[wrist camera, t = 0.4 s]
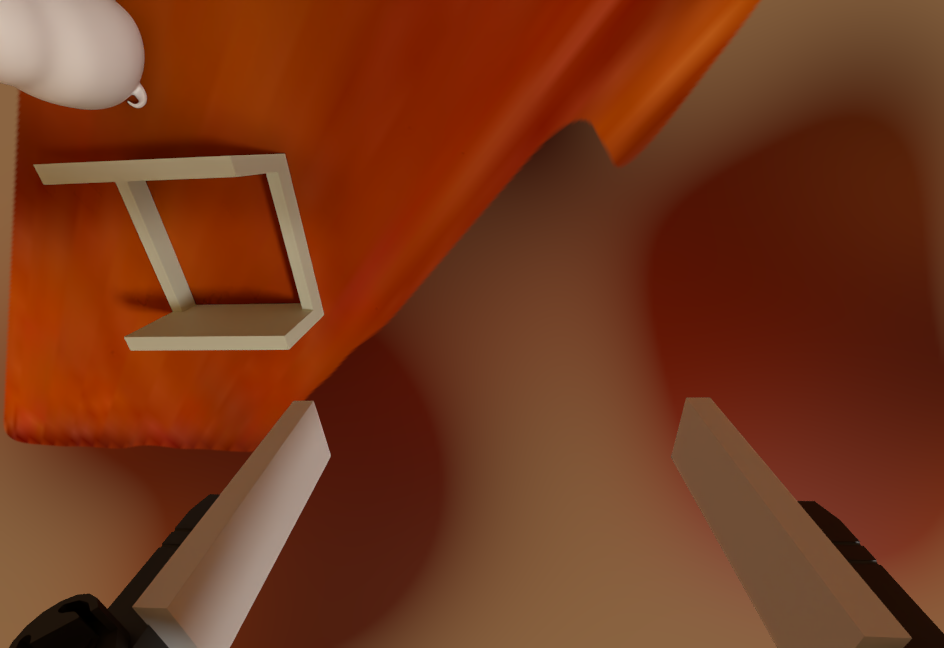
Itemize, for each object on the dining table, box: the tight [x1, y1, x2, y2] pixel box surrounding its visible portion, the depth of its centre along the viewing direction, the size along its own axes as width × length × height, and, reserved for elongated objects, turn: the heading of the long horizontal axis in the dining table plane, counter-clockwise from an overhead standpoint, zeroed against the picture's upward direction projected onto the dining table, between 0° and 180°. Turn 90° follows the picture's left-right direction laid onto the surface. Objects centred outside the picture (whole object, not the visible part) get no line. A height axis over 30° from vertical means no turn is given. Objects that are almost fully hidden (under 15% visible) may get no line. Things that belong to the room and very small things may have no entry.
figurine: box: [0, 0, 147, 110], centre depth 26 cm, size 10×10×12 cm
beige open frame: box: [34, 154, 324, 350], centre depth 35 cm, size 17×16×8 cm
